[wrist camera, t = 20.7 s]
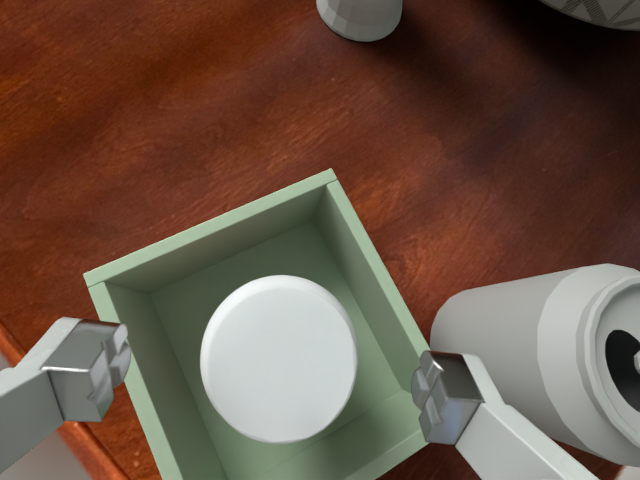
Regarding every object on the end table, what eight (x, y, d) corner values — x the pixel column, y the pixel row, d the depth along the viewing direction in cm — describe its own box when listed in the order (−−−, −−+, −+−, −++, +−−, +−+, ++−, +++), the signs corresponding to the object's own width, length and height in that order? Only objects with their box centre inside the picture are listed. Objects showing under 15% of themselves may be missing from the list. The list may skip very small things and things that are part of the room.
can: (407, 308, 24) (537, 289, 12) (502, 276, 25) (700, 232, 13) (449, 424, 22) (641, 530, 11) (547, 384, 24) (811, 437, 12)
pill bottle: (248, 278, 22) (225, 232, 11) (341, 309, 22) (403, 293, 12) (209, 380, 20) (142, 436, 10) (311, 412, 21) (351, 502, 10)
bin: (412, 392, 22) (468, 418, 16) (228, 507, 20) (206, 594, 13) (316, 209, 24) (331, 167, 18) (137, 289, 22) (81, 273, 15)
